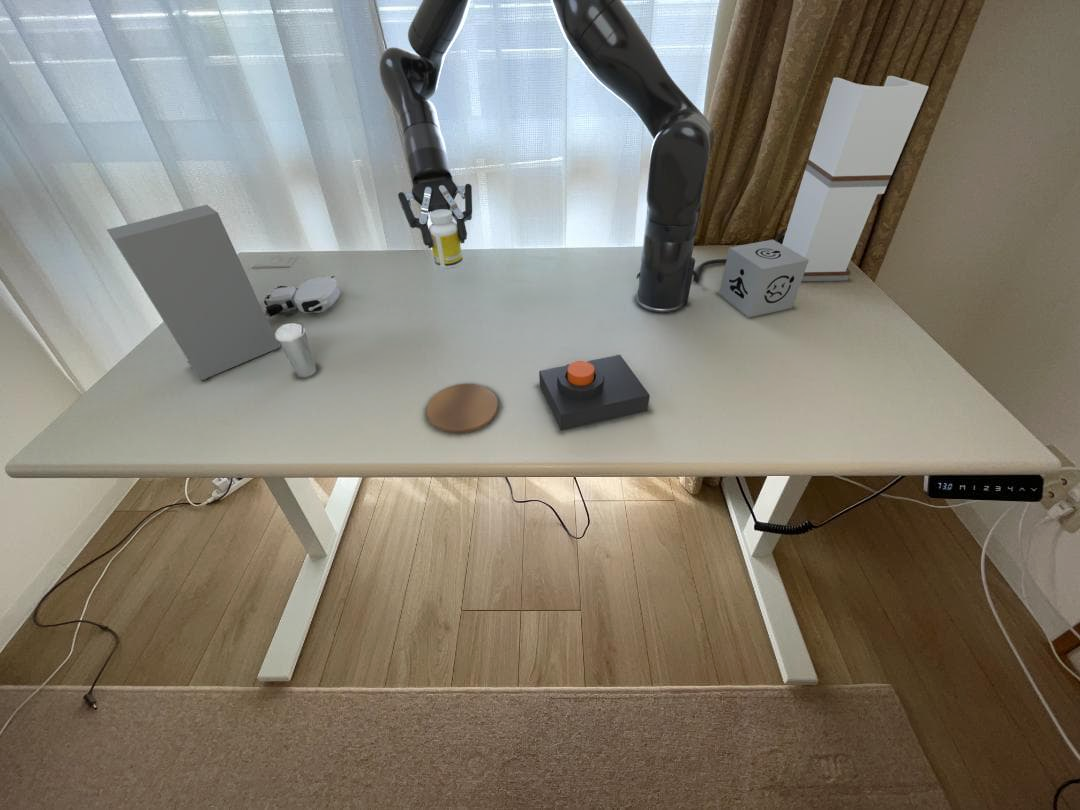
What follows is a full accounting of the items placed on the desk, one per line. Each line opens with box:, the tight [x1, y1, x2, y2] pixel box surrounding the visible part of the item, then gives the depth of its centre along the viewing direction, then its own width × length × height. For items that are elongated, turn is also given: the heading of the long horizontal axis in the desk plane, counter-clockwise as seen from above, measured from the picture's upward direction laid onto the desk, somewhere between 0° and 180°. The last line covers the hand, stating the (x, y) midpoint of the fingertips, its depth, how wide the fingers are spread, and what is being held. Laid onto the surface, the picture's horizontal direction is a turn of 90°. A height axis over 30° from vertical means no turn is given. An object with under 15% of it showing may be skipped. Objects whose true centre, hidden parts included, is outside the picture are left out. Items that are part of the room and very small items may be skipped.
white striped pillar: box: [781, 75, 929, 282], centre depth 97 cm, size 11×11×35 cm
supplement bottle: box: [428, 209, 464, 270], centre depth 92 cm, size 5×5×10 cm
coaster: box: [426, 383, 499, 434], centre depth 76 cm, size 11×11×1 cm
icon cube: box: [718, 239, 809, 318], centre depth 96 cm, size 10×10×10 cm
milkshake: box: [274, 322, 317, 378], centre depth 82 cm, size 4×5×10 cm
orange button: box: [568, 360, 594, 386], centre depth 74 cm, size 4×4×2 cm
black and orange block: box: [538, 354, 651, 431], centre depth 76 cm, size 14×11×5 cm
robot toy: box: [262, 273, 341, 318], centre depth 101 cm, size 12×4×15 cm
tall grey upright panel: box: [106, 204, 281, 381], centre depth 81 cm, size 14×6×25 cm, turn 135°
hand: (446, 243), depth 91 cm, fingers closed on supplement bottle, 5 cm apart
